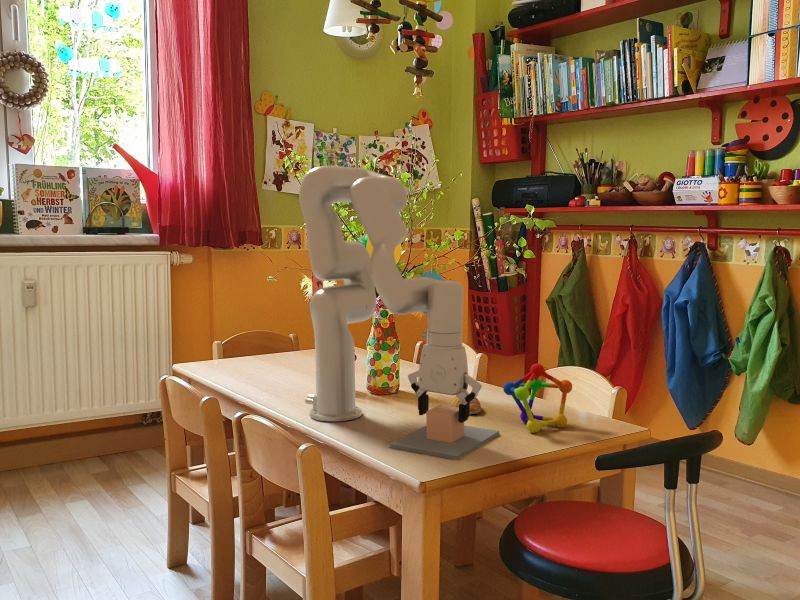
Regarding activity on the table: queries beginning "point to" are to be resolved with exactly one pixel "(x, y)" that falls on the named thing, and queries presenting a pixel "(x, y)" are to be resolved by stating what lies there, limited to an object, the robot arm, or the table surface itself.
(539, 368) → the educational toy
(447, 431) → the cube
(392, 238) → the robot arm
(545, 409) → the table surface
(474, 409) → the pastry
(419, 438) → the mat
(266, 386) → the table surface
